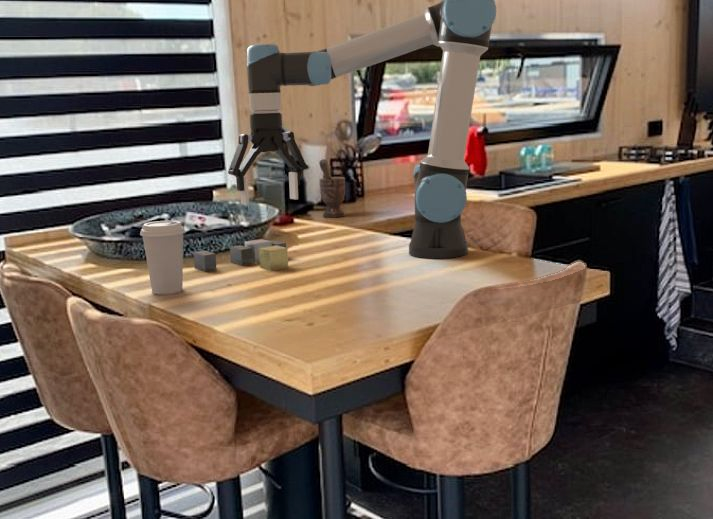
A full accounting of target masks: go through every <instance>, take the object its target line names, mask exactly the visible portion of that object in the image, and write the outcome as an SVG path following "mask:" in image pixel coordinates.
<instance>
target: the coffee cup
mask: <svg viewBox="0 0 713 519" xmlns="http://www.w3.org/2000/svg"><path fill="white" fill-rule="evenodd" d="M185 233H186V230H185V228H184V226H183V224H182V222H181V221H178V220H160V221H159V220H158V221H157V220H156V221H151V222H145V223H144V224H143V225H142V228H141V229H140V233H139V235H140V236H141V237H142V241H143V242H142V243H143V248H144V252H145V257H146V264H147V270H148V274H149V281H150V287H151V293H152V294H154V295H159V296H160V295H163V296H164V295H173V294H177V293H180V292H182V291H183V286H184V285H183V278H184V277H183V276H184V274H183V272H184V271H183V267H184V266H183V265H184V262H183V261H184V234H185Z"/></svg>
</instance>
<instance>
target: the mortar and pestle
mask: <svg viewBox="0 0 713 519" xmlns="http://www.w3.org/2000/svg"><path fill="white" fill-rule="evenodd" d="M319 168H320V170H321V171H322V173H323V176H324V177H322V178H319V192H320V196H321V199H322V202H323V203H324V204H325V205H326V209H325V211H324V213H323V214H322V216H323V217H324V218H330V219H334V218H335V219H336V218H342V217H345V216H346V213H345V211H344V209H342V207H341V204H342V203H343V201H345V195H346V178H345V177H344V176H332V175H331V174H332V173H331V170H330V164H329V162H328V160H327V159H326V158H325V159H323V158H322V159H321V160H319Z"/></svg>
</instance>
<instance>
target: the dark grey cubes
mask: <svg viewBox="0 0 713 519" xmlns="http://www.w3.org/2000/svg"><path fill="white" fill-rule="evenodd" d="M270 241H271V244H272V246H276V245H277V246H281V247H285V248H287V243H286V242H284V241H280V240H279V241H278V240H276V239H275V240H273V239H272V240H270ZM229 254H230V263H231V264H235V265H237V266H238V265H239V266H249V265H253V261H252V248H249V247H245V245H241V244H239V245H234V246H229ZM216 256H217V254H216V253H214V252H211V251H207V250H198V251H193V263H194V269H197V270H199V271H203V272H211V271H218V270H217V268H218V267H217V257H216Z"/></svg>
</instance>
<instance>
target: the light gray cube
mask: <svg viewBox="0 0 713 519" xmlns="http://www.w3.org/2000/svg"><path fill="white" fill-rule="evenodd" d="M271 241H272V240H266V239H263V238H260V239H254V240H248V241H247V240H246V241H244V246H245V247H249V248H252V261H253V263H254V264H258V263H259V264H260V257H259V248H263V247H269V246H272V244H271Z"/></svg>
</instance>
